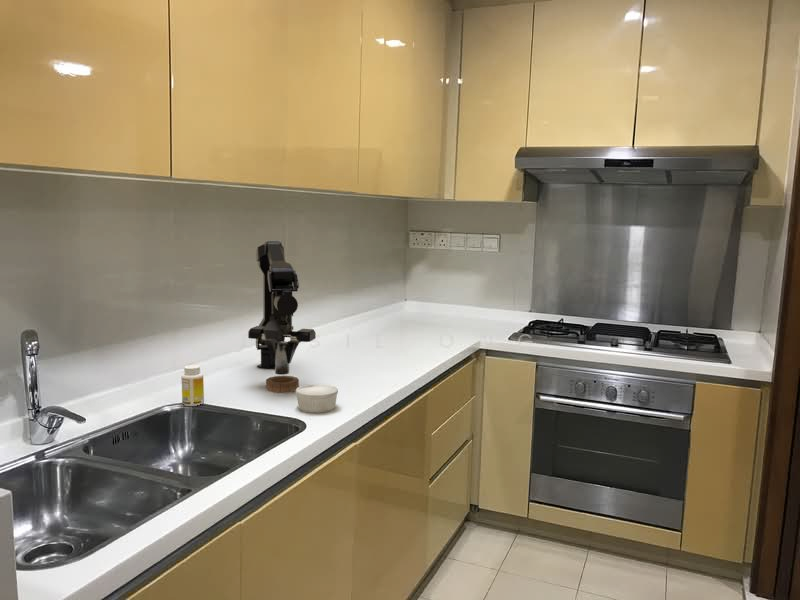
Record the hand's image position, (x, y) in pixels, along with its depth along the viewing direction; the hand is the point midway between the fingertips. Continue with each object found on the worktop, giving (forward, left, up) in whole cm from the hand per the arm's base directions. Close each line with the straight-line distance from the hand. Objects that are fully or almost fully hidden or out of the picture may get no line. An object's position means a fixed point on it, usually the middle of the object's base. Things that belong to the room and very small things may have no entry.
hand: (282, 362), depth 193 cm
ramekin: (+16, +16, -8) cm, 24 cm away
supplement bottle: (+21, -17, -8) cm, 28 cm away
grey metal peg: (0, 0, -3) cm, 3 cm away
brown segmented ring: (0, 0, -8) cm, 8 cm away
